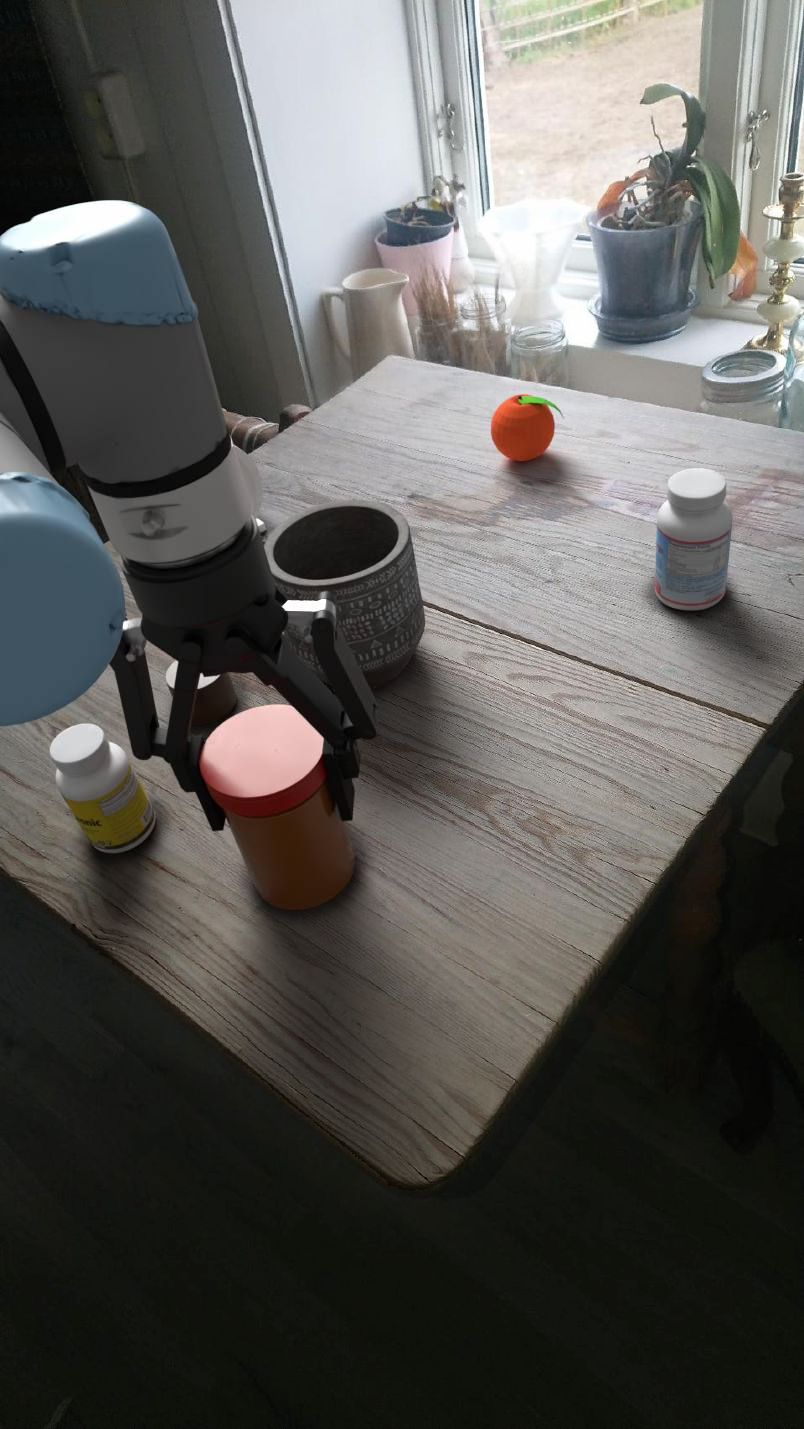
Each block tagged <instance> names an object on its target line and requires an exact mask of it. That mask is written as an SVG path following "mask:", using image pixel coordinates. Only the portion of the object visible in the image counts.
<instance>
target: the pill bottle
mask: <svg viewBox="0 0 804 1429" xmlns="http://www.w3.org/2000/svg"><path fill="white" fill-rule="evenodd" d="M666 490H667V492H666V498H667V500H665V501H664V502H663V504H661V506H660V508H659V510H658V513H657V519H656V537H655V538H656V539H655V564H654V566H655V567H654V592H655V595H656V597H657V598H658V600H659V601H660V602H661V603H662V604H664V605H665V606H667V607H670V608H673V609H676V610H681V611H702V610H707V609H709V608H711V607H713V606H715V605H716V604H718V603H719V602H720V601H721V600H722V599H723V597H724V595H725V594H726V590H727V580H728V571H729V561H730V560H729V559H730V549H731V539H732V528H733V511H732V507H731V506H730V504H728V502H727V501H726V500H725V499H726V498H727V481H726V478H725V477H724V476H723V475H722V474H721V473H720V472H718V471H716V470H713V469H710V468H703V467H692V468H687V469H683V470H682V469H681V470H680V471H677V472H676V473H674V474H673V475H671V477H670V478H669V479H668V482H667V489H666Z"/></svg>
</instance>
